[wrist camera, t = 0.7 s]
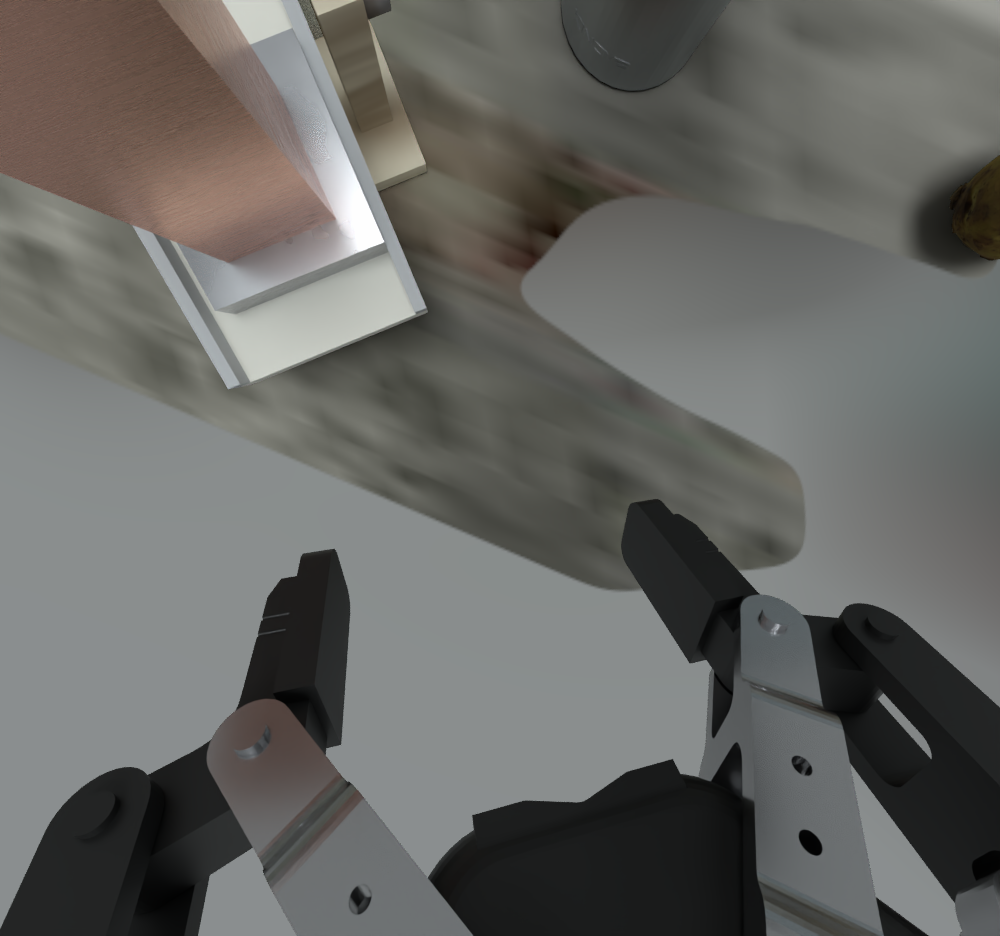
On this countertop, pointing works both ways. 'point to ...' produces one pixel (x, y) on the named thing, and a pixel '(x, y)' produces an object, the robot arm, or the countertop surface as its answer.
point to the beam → (315, 307)
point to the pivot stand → (367, 89)
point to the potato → (979, 212)
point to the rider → (184, 138)
